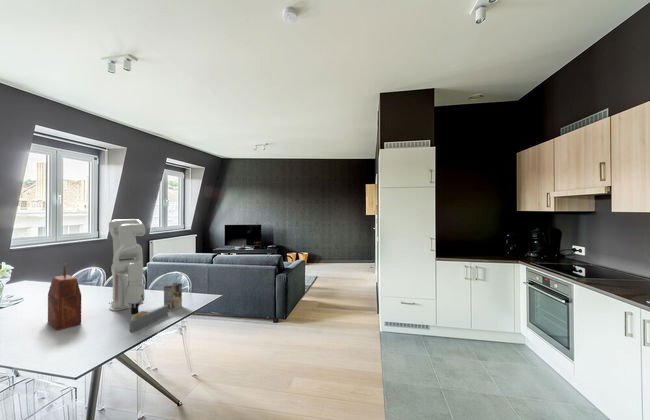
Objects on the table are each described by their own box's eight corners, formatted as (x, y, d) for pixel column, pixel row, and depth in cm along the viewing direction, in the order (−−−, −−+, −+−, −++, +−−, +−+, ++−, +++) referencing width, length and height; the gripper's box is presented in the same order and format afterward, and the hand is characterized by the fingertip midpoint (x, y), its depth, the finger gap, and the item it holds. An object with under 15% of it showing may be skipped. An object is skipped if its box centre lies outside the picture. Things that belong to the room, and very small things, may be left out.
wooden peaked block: (71, 316, 160) (72, 260, 161) (81, 324, 150) (81, 263, 150) (47, 322, 152) (48, 263, 152) (55, 331, 141) (56, 267, 141)
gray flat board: (130, 331, 141) (130, 320, 141) (165, 314, 165) (165, 305, 165) (133, 332, 141) (133, 321, 141) (167, 314, 164) (167, 305, 164)
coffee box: (174, 305, 180) (174, 282, 180) (182, 306, 179) (182, 283, 179) (163, 310, 171) (163, 286, 171) (171, 311, 170) (171, 287, 170)
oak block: (131, 324, 151) (131, 315, 151) (141, 319, 158) (142, 311, 158) (141, 325, 150) (141, 316, 150) (151, 320, 157) (151, 312, 157)
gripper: (118, 284, 152) (118, 315, 152) (139, 285, 149) (139, 317, 149) (130, 280, 160) (130, 310, 159) (150, 282, 157) (150, 312, 157)
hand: (134, 313), depth 154 cm, fingers closed
